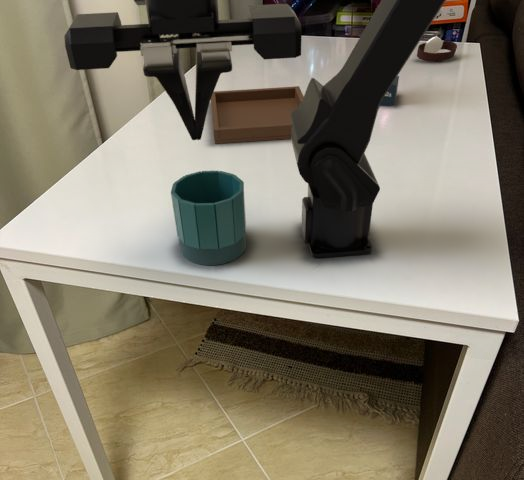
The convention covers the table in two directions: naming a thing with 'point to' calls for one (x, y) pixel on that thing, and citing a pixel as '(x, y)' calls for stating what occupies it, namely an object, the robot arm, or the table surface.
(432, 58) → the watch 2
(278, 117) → the tray
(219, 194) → the teal faceted cup
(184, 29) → the robot arm
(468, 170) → the table surface
